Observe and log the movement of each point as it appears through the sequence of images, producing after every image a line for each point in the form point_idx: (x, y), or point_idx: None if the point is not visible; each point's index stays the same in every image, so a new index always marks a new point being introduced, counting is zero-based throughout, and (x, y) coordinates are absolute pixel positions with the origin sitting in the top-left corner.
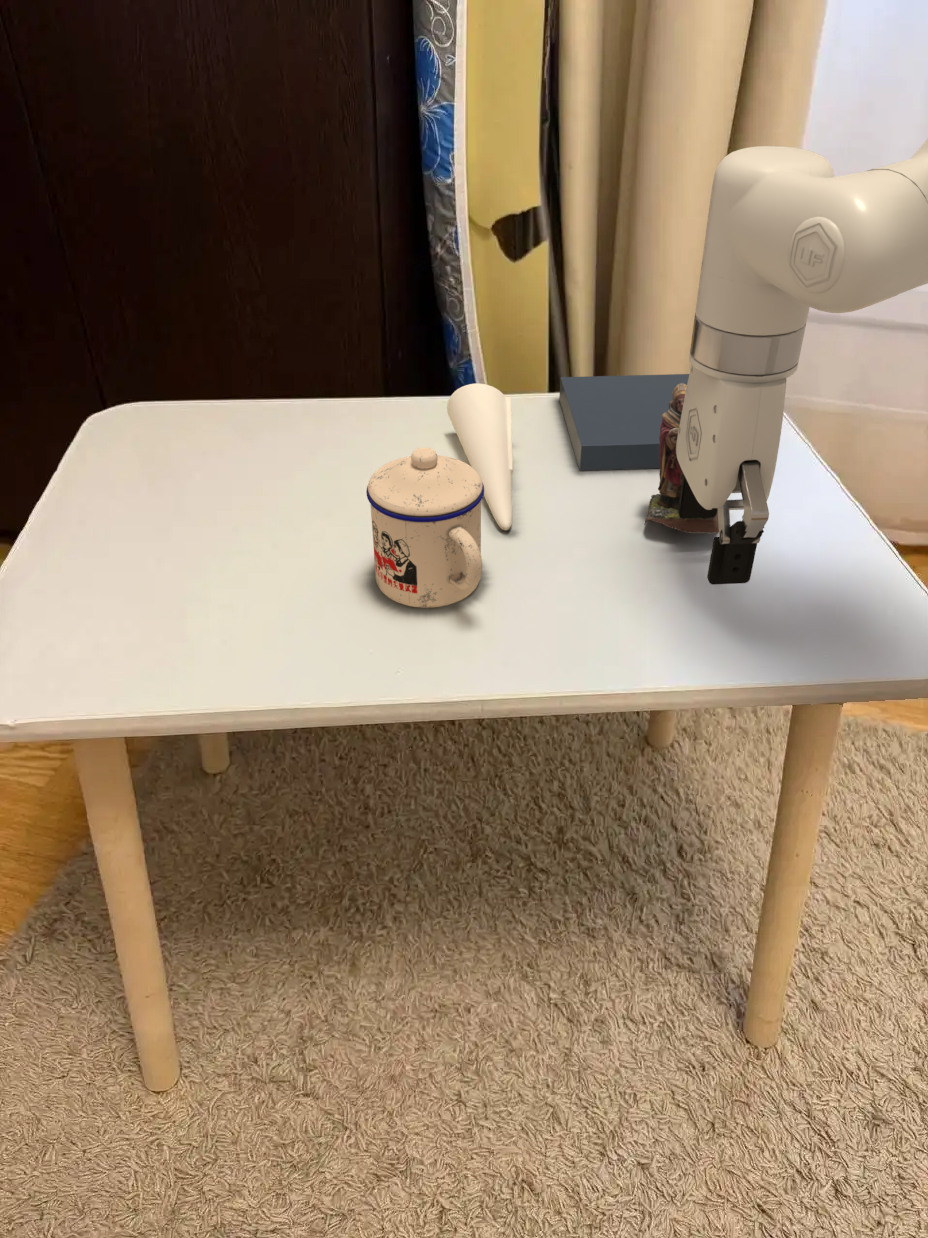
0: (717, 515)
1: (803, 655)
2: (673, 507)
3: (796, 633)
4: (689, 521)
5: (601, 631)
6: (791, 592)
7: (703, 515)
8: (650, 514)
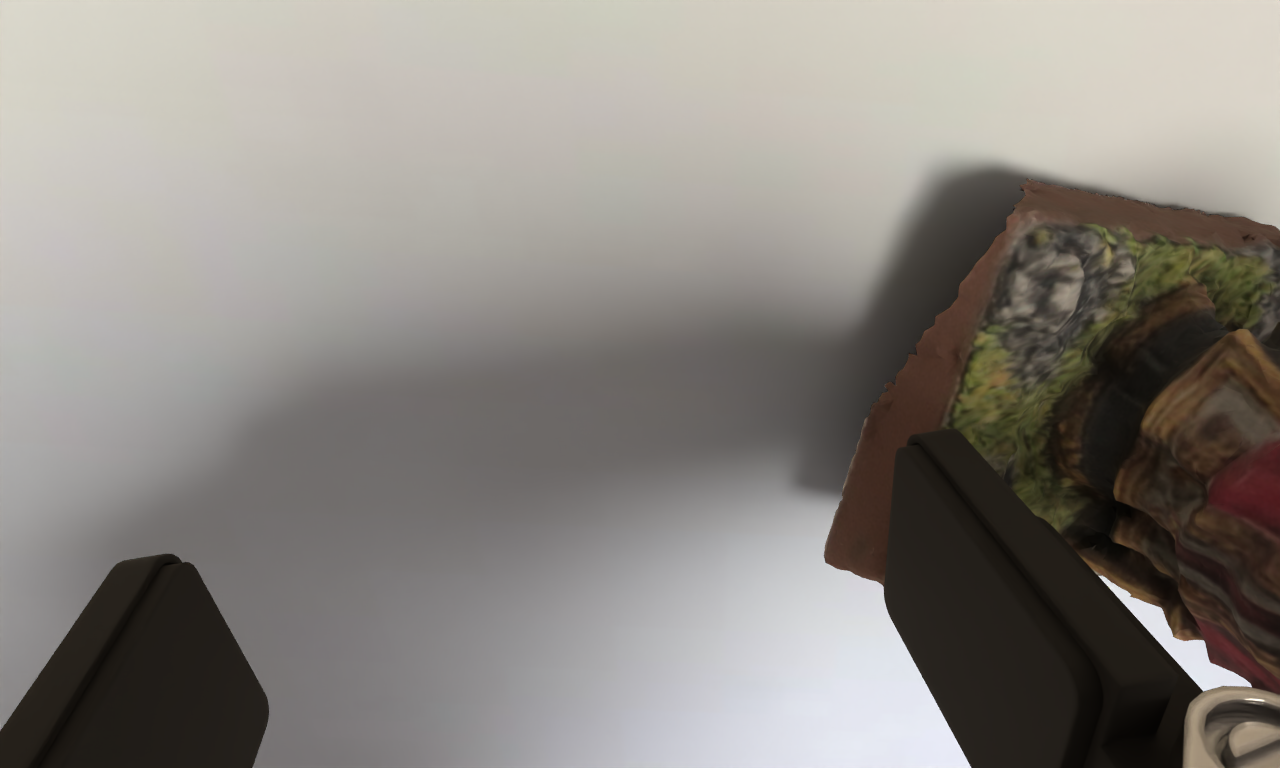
0: None
1: None
2: (1088, 383)
3: None
4: None
5: None
6: (488, 711)
7: (892, 560)
8: (1046, 239)
